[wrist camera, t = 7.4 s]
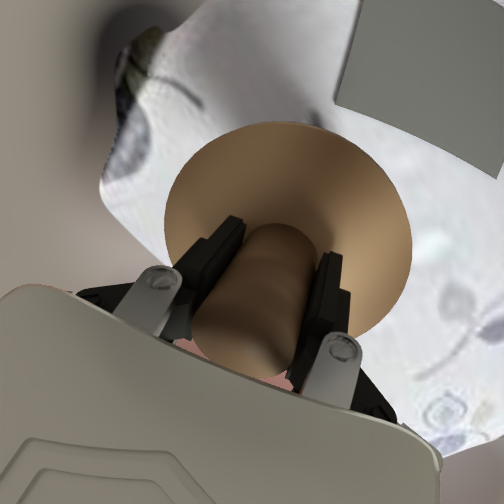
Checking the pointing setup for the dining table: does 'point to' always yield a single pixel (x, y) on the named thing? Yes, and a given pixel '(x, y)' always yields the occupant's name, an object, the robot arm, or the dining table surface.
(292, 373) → the robot arm
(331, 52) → the dining table surface
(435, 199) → the dining table surface
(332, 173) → the lid
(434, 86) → the mat
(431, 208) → the dining table surface
